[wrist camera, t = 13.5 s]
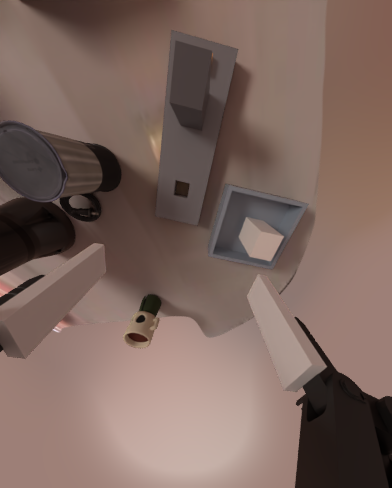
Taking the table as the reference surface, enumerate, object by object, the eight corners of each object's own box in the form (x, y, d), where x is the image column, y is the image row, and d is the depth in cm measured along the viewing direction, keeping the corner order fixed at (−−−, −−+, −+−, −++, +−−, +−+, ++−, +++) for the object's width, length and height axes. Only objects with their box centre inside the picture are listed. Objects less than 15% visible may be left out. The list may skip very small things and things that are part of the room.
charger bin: (264, 258, 39) (272, 269, 35) (207, 246, 38) (208, 256, 34) (294, 199, 32) (308, 203, 28) (225, 183, 31) (229, 185, 27)
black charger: (202, 133, 27) (201, 110, 17) (181, 128, 27) (169, 102, 17) (208, 99, 25) (212, 50, 15) (186, 93, 25) (175, 40, 15)
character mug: (160, 287, 46) (145, 326, 34) (171, 302, 48) (161, 343, 37) (133, 298, 48) (111, 337, 37) (145, 311, 51) (128, 352, 39)
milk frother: (115, 142, 29) (42, 116, 16) (133, 218, 36) (92, 244, 23) (50, 146, 30) (-73, 124, 17) (79, 219, 37) (9, 245, 24)
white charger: (252, 237, 36) (270, 261, 26) (236, 233, 36) (249, 256, 26) (260, 218, 34) (283, 236, 24) (243, 214, 33) (260, 231, 24)
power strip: (197, 222, 36) (197, 226, 33) (158, 213, 35) (153, 217, 32) (234, 61, 23) (239, 44, 20) (174, 44, 23) (170, 24, 20)
